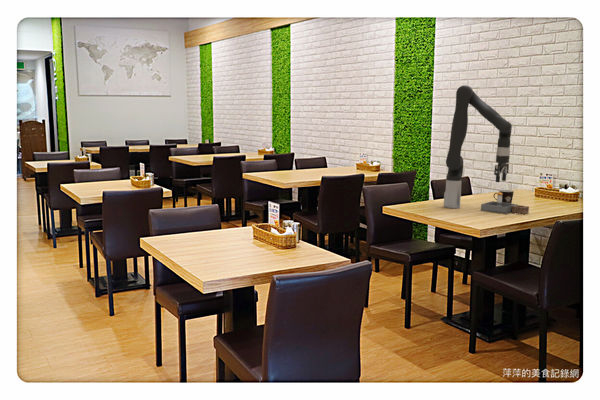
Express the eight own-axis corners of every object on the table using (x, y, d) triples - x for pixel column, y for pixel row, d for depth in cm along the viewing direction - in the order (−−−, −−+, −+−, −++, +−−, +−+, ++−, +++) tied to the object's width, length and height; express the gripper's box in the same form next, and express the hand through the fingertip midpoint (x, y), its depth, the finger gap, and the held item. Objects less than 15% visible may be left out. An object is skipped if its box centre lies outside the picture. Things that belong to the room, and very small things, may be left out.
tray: (480, 210, 335) (481, 204, 334) (492, 207, 345) (492, 201, 344) (506, 214, 324) (506, 207, 323) (517, 210, 334) (517, 204, 333)
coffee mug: (513, 205, 351) (514, 190, 349) (512, 208, 343) (513, 192, 341) (494, 204, 356) (494, 189, 354) (492, 206, 348) (493, 191, 346)
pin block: (511, 213, 327) (512, 206, 326) (516, 211, 332) (517, 205, 331) (523, 214, 322) (524, 207, 321) (528, 213, 327) (528, 206, 326)
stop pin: (495, 209, 334) (496, 192, 332) (497, 208, 336) (498, 192, 335) (500, 210, 332) (501, 193, 330) (502, 209, 334) (503, 192, 333)
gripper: (502, 153, 336) (499, 179, 339) (491, 154, 326) (489, 181, 329) (514, 154, 331) (511, 181, 334) (503, 155, 321) (501, 183, 324)
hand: (500, 181), depth 331 cm, fingers open, 8 cm apart
